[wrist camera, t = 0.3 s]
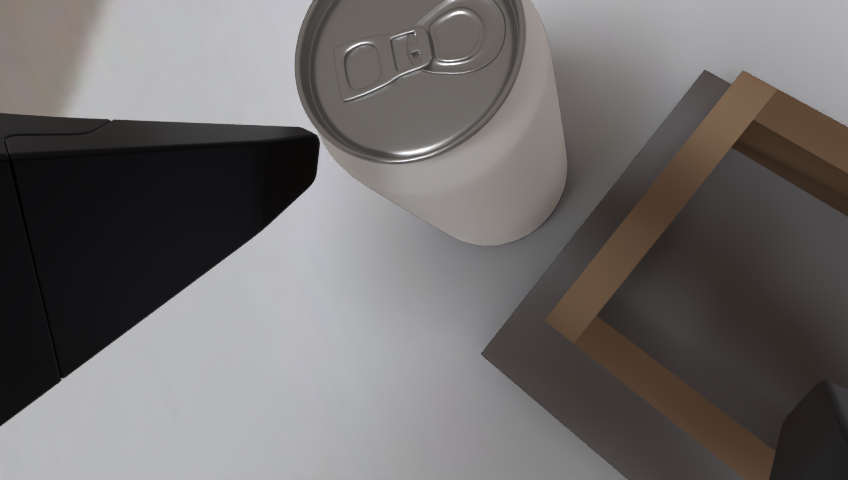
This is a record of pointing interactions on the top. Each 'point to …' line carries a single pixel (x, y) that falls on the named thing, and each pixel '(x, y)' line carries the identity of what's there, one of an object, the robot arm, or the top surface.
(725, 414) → the socket holder
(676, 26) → the top surface
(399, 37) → the can
